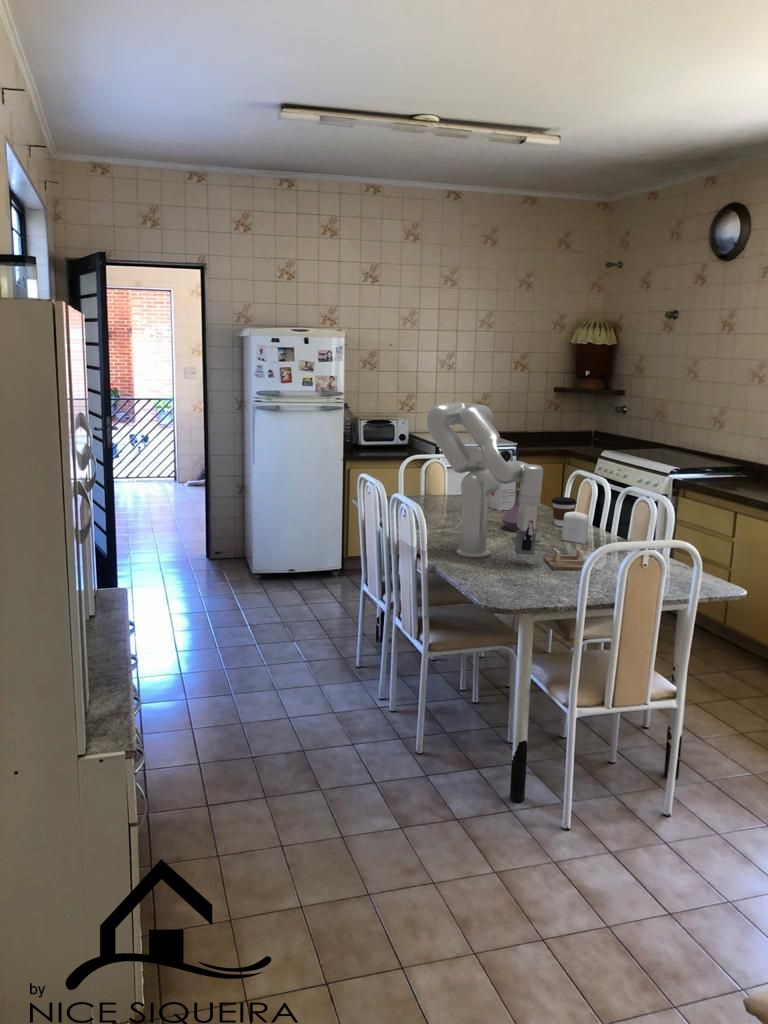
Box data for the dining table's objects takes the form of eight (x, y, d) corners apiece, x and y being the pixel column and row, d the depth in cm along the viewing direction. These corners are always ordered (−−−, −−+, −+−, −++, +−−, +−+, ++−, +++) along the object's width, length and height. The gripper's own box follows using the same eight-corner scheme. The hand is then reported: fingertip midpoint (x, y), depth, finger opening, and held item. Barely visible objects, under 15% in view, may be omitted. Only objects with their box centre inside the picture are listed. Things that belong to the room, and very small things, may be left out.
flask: (507, 534, 342) (509, 487, 338) (494, 525, 358) (496, 480, 354) (544, 532, 346) (546, 486, 341) (529, 524, 361) (532, 480, 357)
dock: (543, 559, 303) (544, 545, 302) (580, 560, 304) (581, 545, 303) (553, 570, 289) (554, 555, 288) (591, 570, 290) (593, 555, 289)
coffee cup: (568, 529, 352) (570, 502, 350) (545, 525, 359) (547, 499, 356) (579, 525, 361) (580, 498, 359) (556, 521, 367) (558, 495, 365)
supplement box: (488, 508, 395) (490, 477, 392) (503, 506, 399) (505, 476, 396) (499, 511, 387) (501, 480, 384) (514, 510, 391) (516, 479, 388)
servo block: (510, 550, 297) (512, 527, 295) (535, 551, 298) (538, 528, 296) (512, 554, 293) (514, 530, 291) (538, 555, 294) (541, 531, 292)
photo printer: (588, 542, 330) (590, 512, 328) (584, 544, 327) (587, 514, 324) (564, 538, 336) (566, 509, 333) (560, 540, 333) (562, 511, 330)
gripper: (514, 493, 299) (509, 541, 303) (524, 504, 282) (519, 554, 287) (534, 494, 299) (529, 542, 303) (545, 505, 283) (540, 555, 287)
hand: (524, 547), depth 295 cm, fingers closed on servo block, 4 cm apart
